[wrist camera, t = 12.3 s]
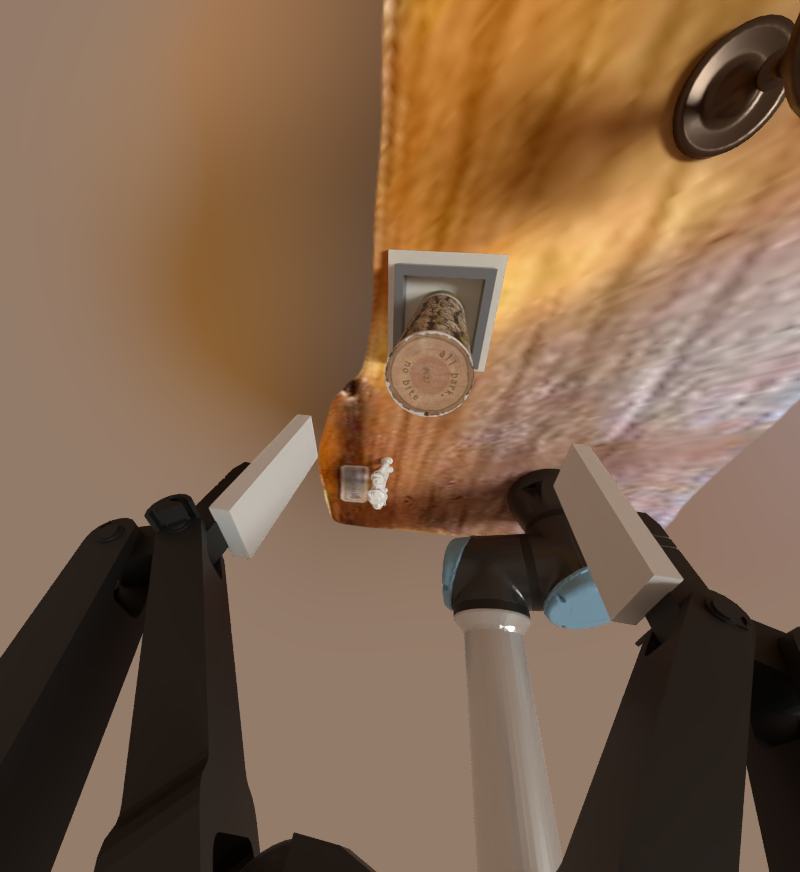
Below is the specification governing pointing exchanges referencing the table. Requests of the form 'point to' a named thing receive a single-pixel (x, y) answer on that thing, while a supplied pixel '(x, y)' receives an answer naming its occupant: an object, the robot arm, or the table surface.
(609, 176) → the table surface
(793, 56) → the candlestick
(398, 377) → the paper tube
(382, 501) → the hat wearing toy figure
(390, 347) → the collar stand
